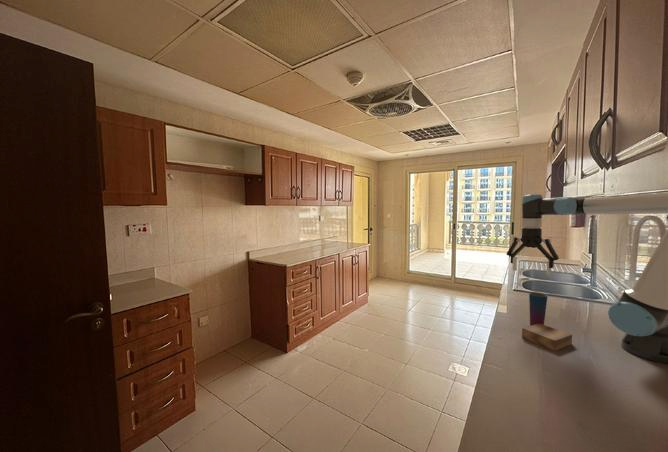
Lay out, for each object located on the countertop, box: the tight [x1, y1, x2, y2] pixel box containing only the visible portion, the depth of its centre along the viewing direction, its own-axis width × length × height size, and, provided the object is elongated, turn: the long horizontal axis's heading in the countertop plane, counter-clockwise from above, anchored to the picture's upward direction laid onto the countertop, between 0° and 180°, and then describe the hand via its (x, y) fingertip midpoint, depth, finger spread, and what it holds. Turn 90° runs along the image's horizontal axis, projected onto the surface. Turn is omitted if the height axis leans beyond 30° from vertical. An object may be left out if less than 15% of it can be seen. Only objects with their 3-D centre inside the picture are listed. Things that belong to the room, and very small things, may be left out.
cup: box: [528, 291, 549, 326], centre depth 124 cm, size 7×7×15 cm
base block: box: [521, 323, 573, 352], centre depth 111 cm, size 12×12×4 cm
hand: (530, 272), depth 127 cm, fingers open, 13 cm apart
